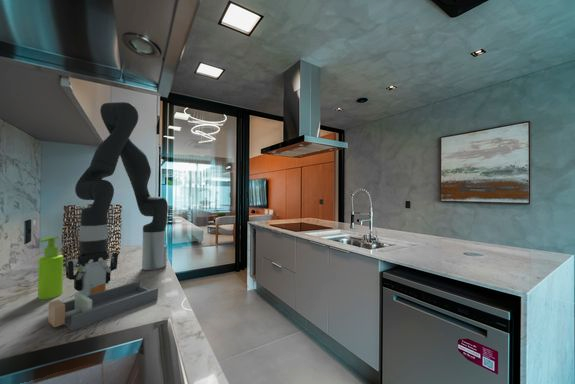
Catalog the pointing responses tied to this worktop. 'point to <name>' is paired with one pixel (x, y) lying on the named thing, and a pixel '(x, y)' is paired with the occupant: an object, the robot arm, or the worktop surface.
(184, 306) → the worktop surface
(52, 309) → the pusher
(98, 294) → the pusher lane
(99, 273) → the skincare box
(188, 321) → the worktop surface
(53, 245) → the soap dispenser
